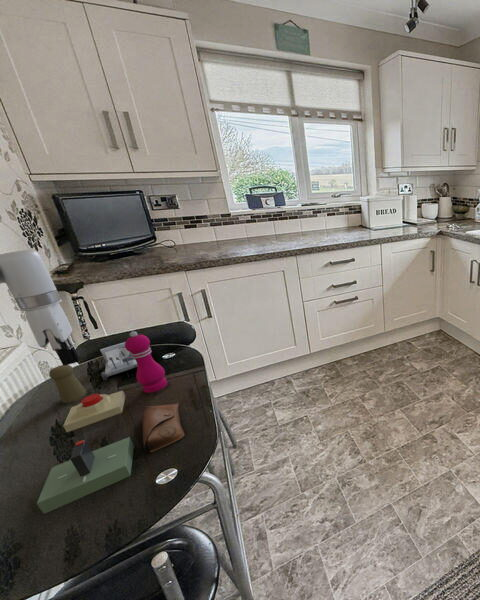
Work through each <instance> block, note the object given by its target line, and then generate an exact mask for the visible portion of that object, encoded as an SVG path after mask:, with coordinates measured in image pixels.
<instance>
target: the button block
mask: <svg viewBox="0 0 480 600" xmlns="http://www.w3.org/2000/svg"><path fill="white" fill-rule="evenodd" d="M100 396H101V398H102V400H101V401H100V402H98V403H96V404H95V405H92V406H89V407H84V406H83V404H82V402H81V401H80V403H79V404H77V405H74V406H71V407H70V410H69V412H68V415H67V417H66V419H65V421H64V423H63V425H62V427H63V428H64V430H65V432H66V433H70V432H72V431H75V430H77V429H80V428H83V427H86V426H89V425H91V424H94V423H97V422H100V421H103V420H105V419H108V418H111V417H113V416H116V415H120V414H122V413H123V410H124V407H125V406H124V405H125V400H126V394H125V392H124V390H119V391H116V392H114V393H110V394H106V393H101V394H100Z"/></svg>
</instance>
